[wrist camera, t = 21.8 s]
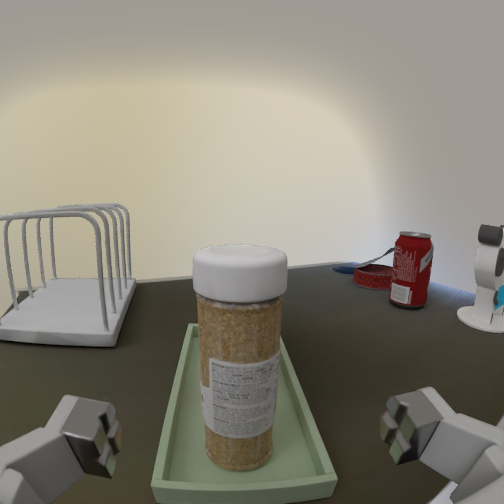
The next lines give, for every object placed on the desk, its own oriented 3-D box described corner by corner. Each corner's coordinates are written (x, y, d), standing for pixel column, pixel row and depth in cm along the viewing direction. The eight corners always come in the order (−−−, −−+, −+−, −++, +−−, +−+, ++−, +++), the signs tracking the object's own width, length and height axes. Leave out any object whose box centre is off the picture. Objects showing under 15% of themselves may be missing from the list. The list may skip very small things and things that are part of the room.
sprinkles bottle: (214, 425, 20) (208, 241, 17) (276, 432, 19) (289, 244, 17) (196, 468, 15) (177, 255, 13) (269, 478, 15) (286, 261, 12)
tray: (331, 496, 13) (338, 479, 13) (156, 503, 12) (150, 486, 12) (274, 338, 36) (275, 323, 36) (189, 338, 35) (188, 323, 35)
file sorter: (115, 349, 31) (102, 207, 28) (-6, 342, 26) (-26, 216, 23) (136, 286, 54) (133, 202, 52) (53, 287, 50) (47, 206, 47)
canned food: (373, 312, 56) (360, 270, 53) (351, 292, 66) (337, 254, 62) (416, 284, 56) (407, 242, 53) (391, 268, 66) (380, 230, 63)
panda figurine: (501, 340, 30) (522, 231, 27) (443, 317, 40) (456, 220, 37) (522, 320, 34) (538, 231, 32) (473, 303, 45) (484, 222, 42)
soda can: (405, 313, 43) (415, 236, 41) (380, 300, 49) (388, 230, 47) (432, 307, 44) (442, 236, 42) (407, 296, 51) (415, 231, 49)
